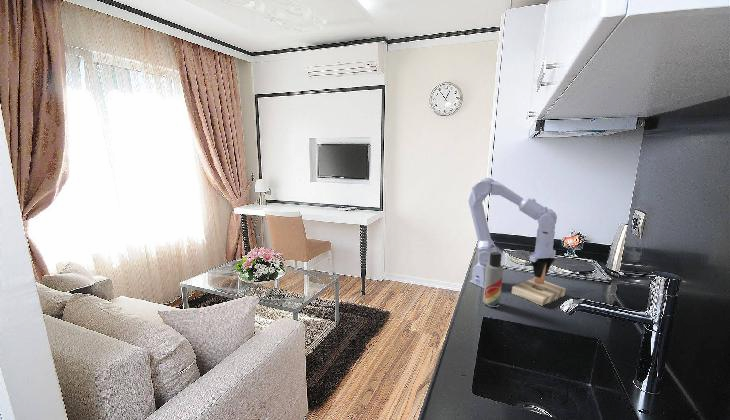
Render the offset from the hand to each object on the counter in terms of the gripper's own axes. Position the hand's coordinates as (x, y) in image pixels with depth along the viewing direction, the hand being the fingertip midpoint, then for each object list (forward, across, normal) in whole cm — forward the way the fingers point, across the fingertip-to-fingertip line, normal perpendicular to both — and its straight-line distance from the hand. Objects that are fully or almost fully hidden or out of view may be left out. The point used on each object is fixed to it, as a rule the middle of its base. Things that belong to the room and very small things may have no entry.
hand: (540, 275), depth 120 cm
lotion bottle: (+8, -22, +5) cm, 24 cm away
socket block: (+8, 0, 0) cm, 8 cm away
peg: (+3, 0, 0) cm, 3 cm away
